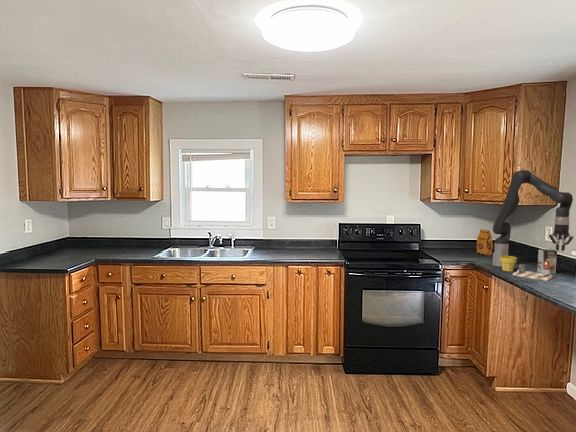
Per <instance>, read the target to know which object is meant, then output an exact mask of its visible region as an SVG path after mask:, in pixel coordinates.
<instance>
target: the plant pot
mask: <svg viewBox="0 0 576 432" xmlns="http://www.w3.org/2000/svg"><path fill="white" fill-rule="evenodd" d="M517 259H518V258H517V257H516V256H511V255H508V256H500V261H501V264H502V267H501V270H502V271H504V272H513V271H514V269H515V265H516V263H517V262H518V261H517Z"/></svg>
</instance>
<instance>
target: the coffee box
mask: <svg viewBox="0 0 576 432" xmlns="http://www.w3.org/2000/svg"><path fill="white" fill-rule="evenodd" d="M557 256H558V251H557V250H556V249H544V248H542V249H541V248H539V249H538V254H537V268H536V269H537V270H536V273H542V269H544V261H548V262H550V263H549V269H550V274H556V273H557V272H556V269H557V258H558V257H557Z"/></svg>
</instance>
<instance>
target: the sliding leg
mask: <svg viewBox="0 0 576 432" xmlns="http://www.w3.org/2000/svg"><path fill="white" fill-rule="evenodd" d="M549 263H550V262H548V261H544V269H542V274H544V275H542V276H543V277H544V276H546V274H547V275H549V274H550V275H551V273H550V269H549Z"/></svg>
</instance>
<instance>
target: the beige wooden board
mask: <svg viewBox="0 0 576 432" xmlns="http://www.w3.org/2000/svg"><path fill="white" fill-rule="evenodd" d="M542 275H544V274H542V273H540V272H537V271H528V270H527V265H526V264H521V263H520V264H519V266H518V269H517V271H515V272H512V276H515V277H519V278H520V277H521V278H527V279H534V280H539V281H540V280H541V281H546V282H547V281H550V280H552V279H553V278H554V276H553V275H552V274H551V273H550V274H549V275H547V274H546V276H544V277H543V276H542Z"/></svg>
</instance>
